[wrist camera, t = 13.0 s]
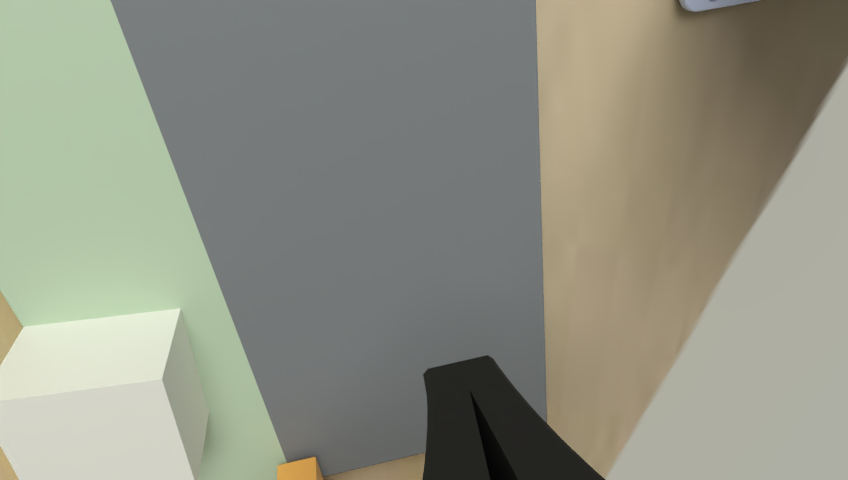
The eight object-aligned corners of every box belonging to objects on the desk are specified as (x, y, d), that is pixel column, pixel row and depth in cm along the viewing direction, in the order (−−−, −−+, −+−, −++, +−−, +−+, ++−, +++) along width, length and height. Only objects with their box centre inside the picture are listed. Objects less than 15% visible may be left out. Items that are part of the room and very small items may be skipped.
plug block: (180, 308, 21) (161, 379, 18) (209, 411, 23) (197, 488, 20) (23, 326, 20) (-23, 403, 17) (71, 430, 23) (38, 513, 20)
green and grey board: (519, -148, 17) (531, -149, 16) (539, 407, 28) (546, 423, 27) (-177, -42, 15) (-205, -38, 14) (148, 499, 27) (143, 519, 26)
